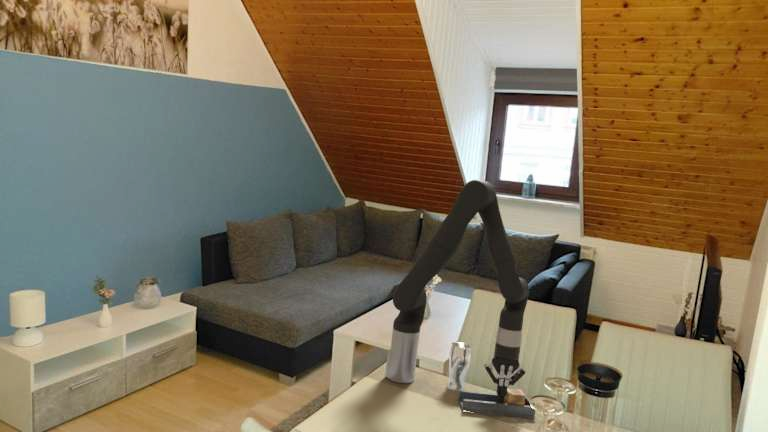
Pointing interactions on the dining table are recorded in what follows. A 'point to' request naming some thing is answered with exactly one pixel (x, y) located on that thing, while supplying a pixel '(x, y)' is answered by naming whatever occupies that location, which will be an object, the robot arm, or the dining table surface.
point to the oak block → (514, 397)
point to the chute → (494, 405)
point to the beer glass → (458, 365)
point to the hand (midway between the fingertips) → (501, 396)
